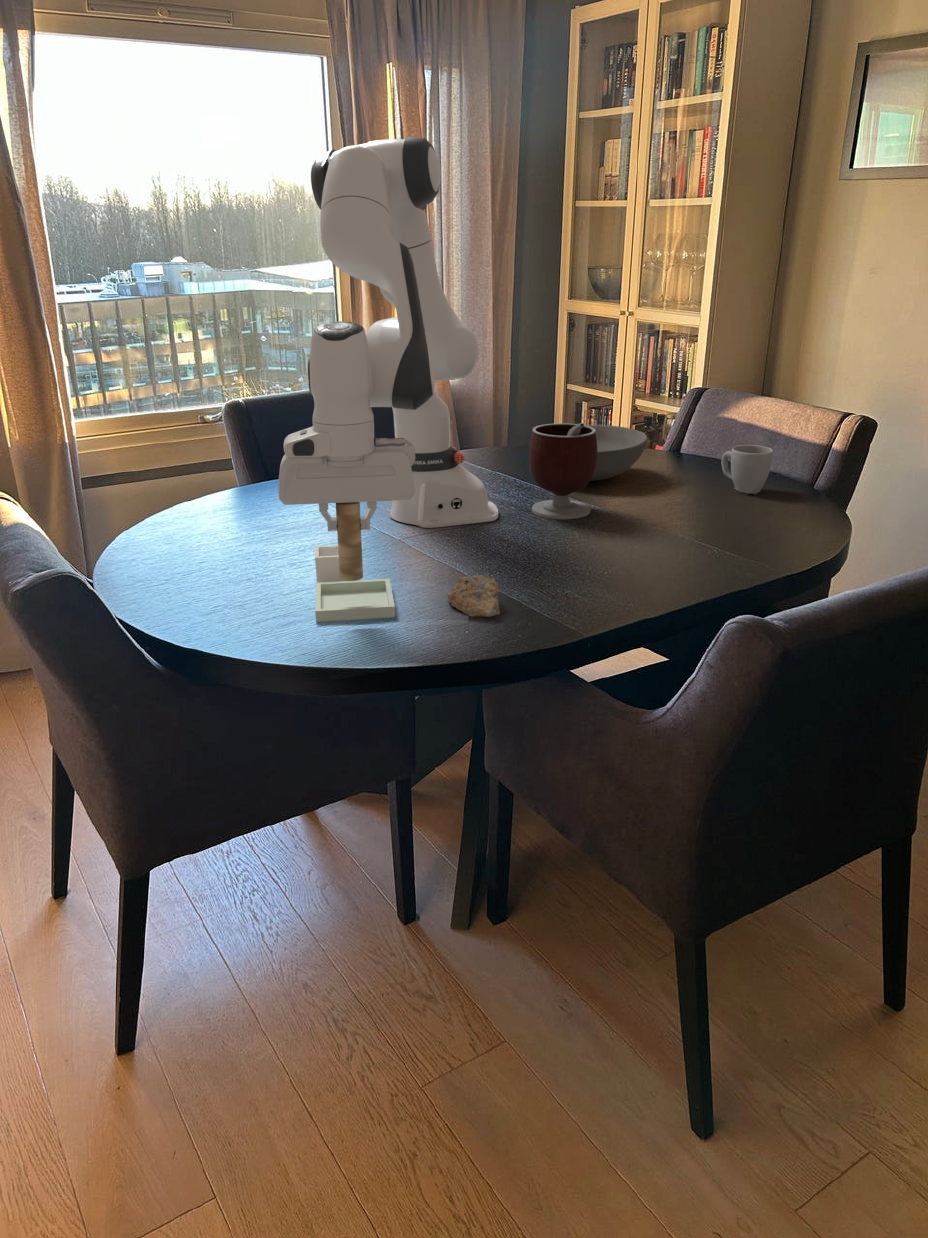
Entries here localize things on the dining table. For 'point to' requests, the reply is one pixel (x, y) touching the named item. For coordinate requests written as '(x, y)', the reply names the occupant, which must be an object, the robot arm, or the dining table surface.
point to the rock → (475, 596)
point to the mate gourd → (562, 466)
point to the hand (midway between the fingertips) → (348, 529)
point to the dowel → (349, 541)
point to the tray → (354, 600)
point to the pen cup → (327, 564)
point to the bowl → (616, 449)
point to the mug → (748, 466)
